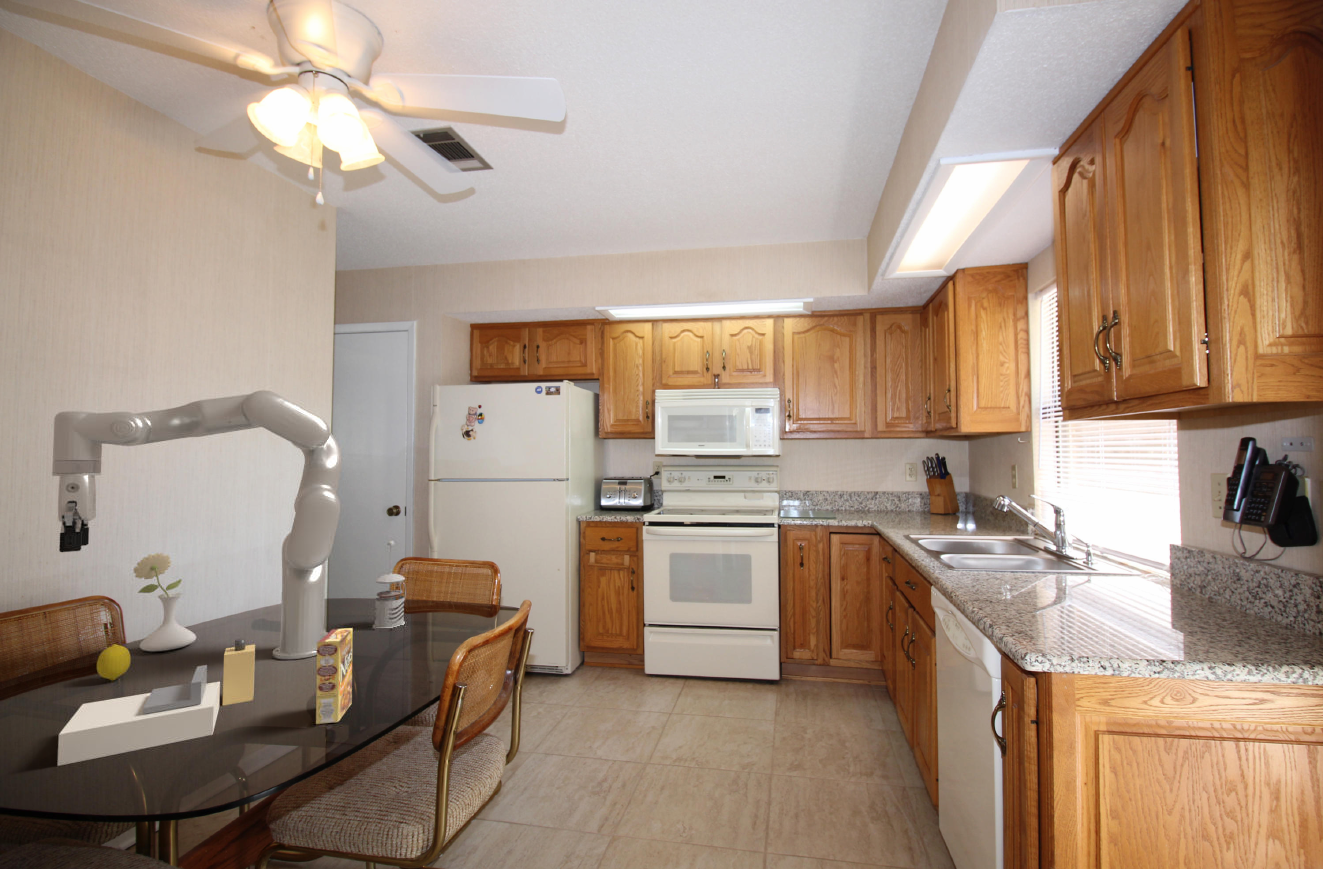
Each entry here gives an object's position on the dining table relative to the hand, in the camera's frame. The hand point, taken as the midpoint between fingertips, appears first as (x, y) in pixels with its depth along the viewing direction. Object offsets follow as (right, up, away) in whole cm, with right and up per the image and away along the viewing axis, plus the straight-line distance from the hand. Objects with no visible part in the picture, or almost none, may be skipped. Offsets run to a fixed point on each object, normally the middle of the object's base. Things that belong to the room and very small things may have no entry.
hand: (74, 548), depth 127 cm
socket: (+33, -29, -20) cm, 49 cm away
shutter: (+37, -24, -18) cm, 48 cm away
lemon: (+4, -31, +5) cm, 31 cm away
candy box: (+63, -30, -12) cm, 71 cm away
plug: (+39, -30, -5) cm, 49 cm away
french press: (+46, -32, +48) cm, 74 cm away
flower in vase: (-3, -31, +26) cm, 41 cm away
